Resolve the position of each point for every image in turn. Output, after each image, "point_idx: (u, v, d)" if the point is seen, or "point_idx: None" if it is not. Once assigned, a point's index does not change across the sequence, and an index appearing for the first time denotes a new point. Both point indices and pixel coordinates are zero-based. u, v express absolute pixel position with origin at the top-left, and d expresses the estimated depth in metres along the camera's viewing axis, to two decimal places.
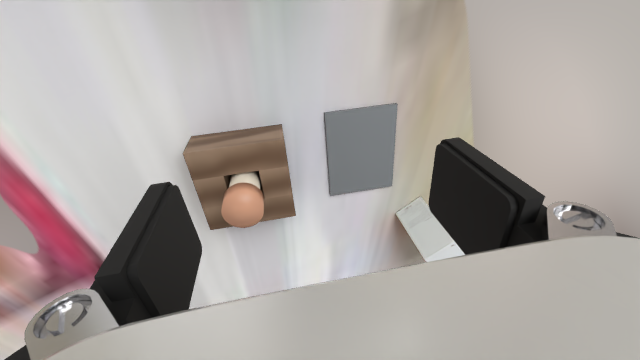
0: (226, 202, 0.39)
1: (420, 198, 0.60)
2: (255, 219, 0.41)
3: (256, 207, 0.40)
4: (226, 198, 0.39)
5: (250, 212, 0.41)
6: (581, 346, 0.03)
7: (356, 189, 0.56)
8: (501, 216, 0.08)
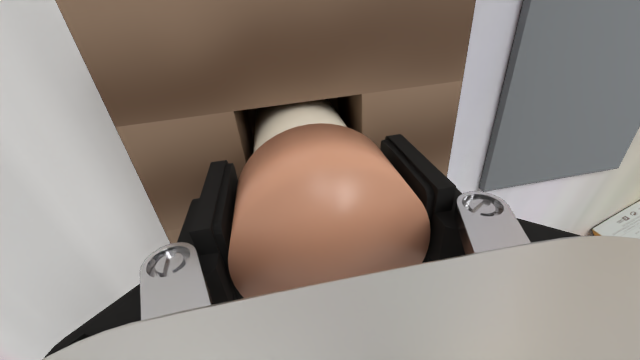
0: (257, 214, 0.07)
1: None
2: None
3: (400, 237, 0.08)
4: (256, 192, 0.07)
5: (364, 262, 0.08)
6: (581, 346, 0.03)
7: (543, 176, 0.24)
8: None
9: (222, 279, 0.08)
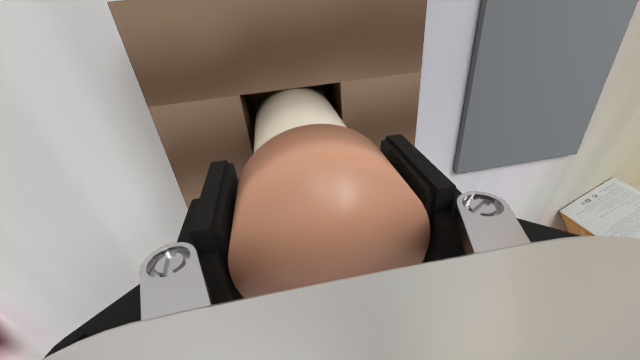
0: (257, 213, 0.07)
1: (615, 181, 0.31)
2: None
3: (400, 236, 0.08)
4: (256, 192, 0.07)
5: (364, 262, 0.09)
6: (581, 346, 0.03)
7: (509, 160, 0.27)
8: None
9: (222, 279, 0.08)
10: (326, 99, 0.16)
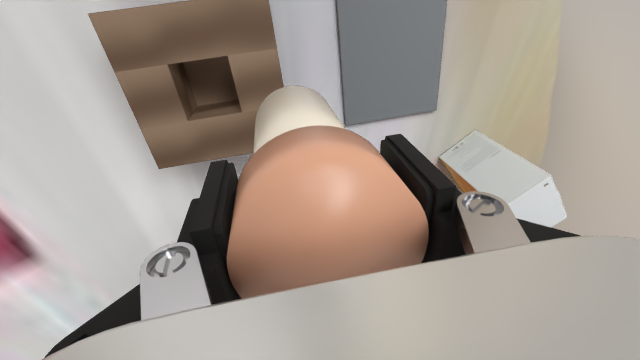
0: (255, 214, 0.07)
1: (476, 132, 0.41)
2: None
3: (398, 237, 0.08)
4: (254, 193, 0.07)
5: (363, 263, 0.09)
6: (581, 346, 0.03)
7: (384, 115, 0.37)
8: (422, 205, 0.08)
9: (222, 279, 0.08)
10: (325, 102, 0.16)
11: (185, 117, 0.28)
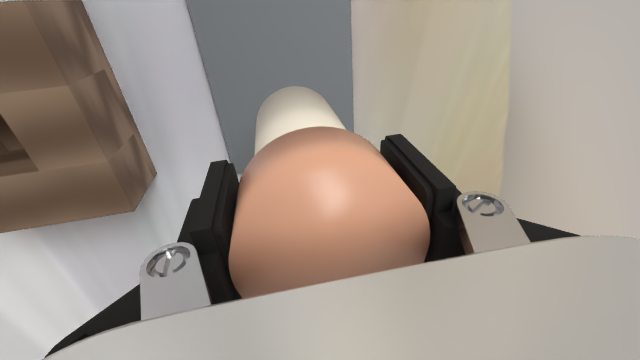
0: (257, 215, 0.07)
1: None
2: None
3: (400, 238, 0.08)
4: (256, 194, 0.07)
5: (364, 264, 0.09)
6: (581, 346, 0.03)
7: None
8: (422, 205, 0.08)
9: (222, 279, 0.08)
10: (326, 102, 0.16)
11: None
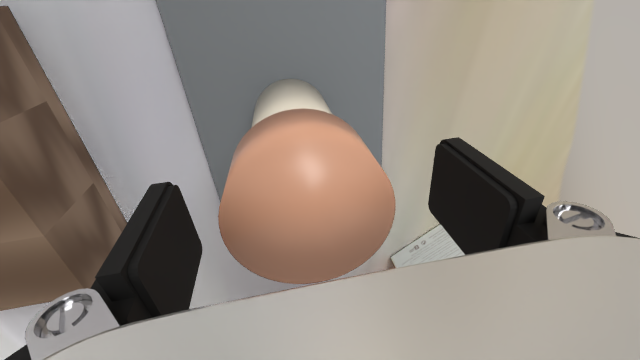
0: (243, 177, 0.08)
1: None
2: (353, 253, 0.10)
3: (368, 205, 0.09)
4: (243, 160, 0.09)
5: (337, 227, 0.10)
6: (581, 346, 0.03)
7: None
8: (501, 216, 0.08)
9: None
10: (319, 94, 0.17)
11: None
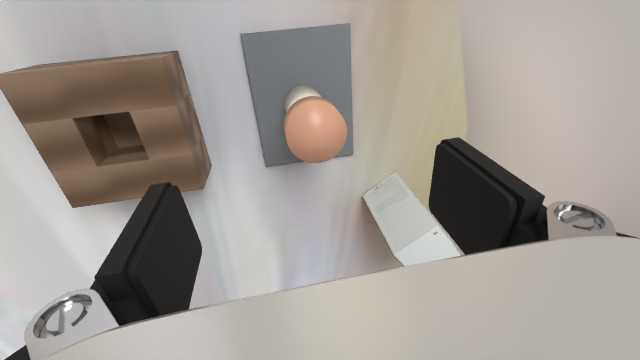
0: (295, 116, 0.26)
1: (395, 174, 0.44)
2: (332, 150, 0.28)
3: (337, 129, 0.27)
4: (295, 111, 0.26)
5: (326, 138, 0.27)
6: (581, 346, 0.03)
7: None
8: (501, 216, 0.08)
9: None
10: (318, 92, 0.35)
11: (94, 163, 0.31)
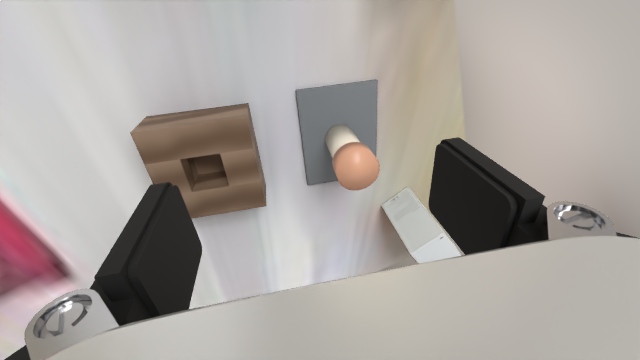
0: (344, 160, 0.37)
1: (407, 188, 0.55)
2: (368, 181, 0.39)
3: (373, 167, 0.38)
4: (344, 156, 0.37)
5: (365, 173, 0.38)
6: (581, 346, 0.03)
7: (336, 178, 0.51)
8: (501, 216, 0.08)
9: None
10: (351, 130, 0.45)
11: (190, 189, 0.41)
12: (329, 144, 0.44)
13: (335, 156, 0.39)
